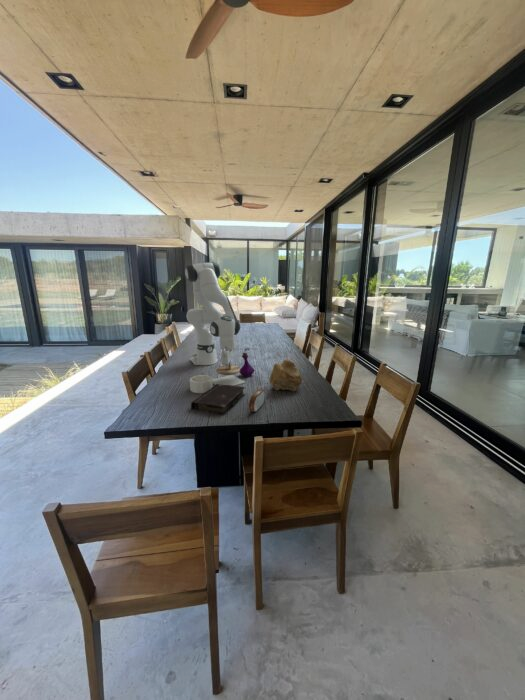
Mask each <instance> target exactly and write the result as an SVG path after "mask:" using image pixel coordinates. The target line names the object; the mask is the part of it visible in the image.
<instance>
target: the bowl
mask: <svg viewBox="0 0 525 700" xmlns="http://www.w3.org/2000/svg"><path fill="white" fill-rule="evenodd" d="M213 379H214V377H212V376H211V375H208V374H198V375H194V376H191V377H190V378H189V389H190V392H192V393H194V394H195V393H196V394H203V393H205V392H206V391H208V390H209V389H211V388H212V387H213V386H214V384H213Z"/></svg>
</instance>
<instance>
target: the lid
mask: <svg viewBox="0 0 525 700" xmlns="http://www.w3.org/2000/svg"><path fill="white" fill-rule="evenodd" d="M240 369H241V368H240V367H239V366H237V365H232V363H231V362H229V369H226V366H225V365H221V366H218V367H216V369H215V370H216V374H218V375H221V376H229V375H233V376H234V375H236V374H238V373H239V374H240Z"/></svg>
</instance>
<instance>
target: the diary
mask: <svg viewBox="0 0 525 700" xmlns="http://www.w3.org/2000/svg"><path fill="white" fill-rule="evenodd" d="M244 389H246V387H245V386H240V385H236V386H234V385H222V384H216V385H215V384H214V385H213V387H212V388H211V389H209V390H208V391H206V392H205V393H201V394H200V396H198V397H196V398H195V399H194V400H192V401H191V402H190V408H191V410H194V409H195V411H196V410H199V411H203V412H207V413H210V414H216V415H222V416H224V415H226V414H228V413H229V412H230V411H231V410H232V409H233V408H234V406H236V405H237V404H238V403H239V400H241V399H243V398H244V397H245V396H246V394H245V393H244Z"/></svg>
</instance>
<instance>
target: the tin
mask: <svg viewBox="0 0 525 700" xmlns="http://www.w3.org/2000/svg"><path fill="white" fill-rule="evenodd" d="M265 398H266V391H265V389H262V388H258V389H257V390H256V391H254V392H253V393H252V395H251V396H250V399H249V402H248V410H249V411H250V412H257V411H259V409H260V408H261V407H262V406H263V404H264V402H265Z"/></svg>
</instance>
